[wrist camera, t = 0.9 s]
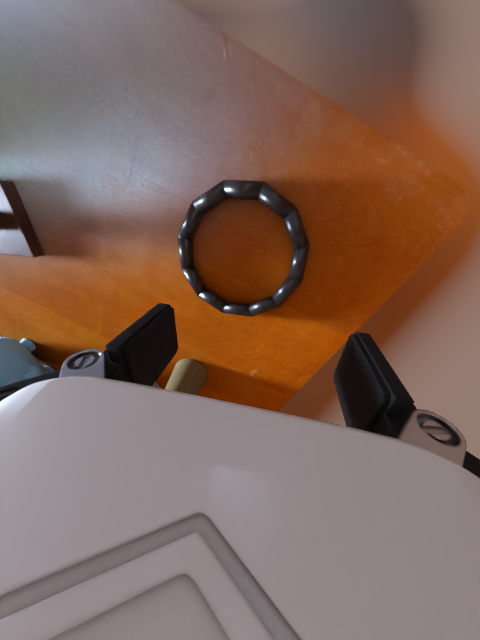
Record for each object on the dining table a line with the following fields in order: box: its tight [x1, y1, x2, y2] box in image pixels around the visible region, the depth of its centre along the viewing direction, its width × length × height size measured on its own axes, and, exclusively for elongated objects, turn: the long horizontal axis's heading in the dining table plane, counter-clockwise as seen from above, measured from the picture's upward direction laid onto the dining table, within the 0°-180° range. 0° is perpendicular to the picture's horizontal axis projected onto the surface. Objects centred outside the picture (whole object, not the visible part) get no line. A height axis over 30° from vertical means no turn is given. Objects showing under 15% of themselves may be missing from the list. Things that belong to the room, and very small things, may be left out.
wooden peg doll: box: [165, 358, 207, 395], centre depth 32 cm, size 6×6×11 cm
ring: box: [178, 180, 309, 316], centre depth 24 cm, size 15×15×2 cm
